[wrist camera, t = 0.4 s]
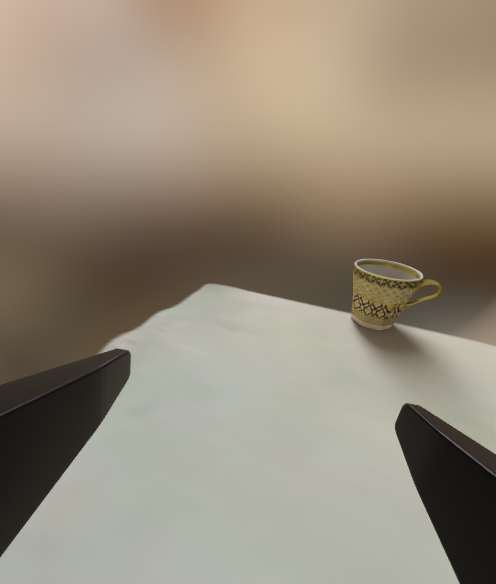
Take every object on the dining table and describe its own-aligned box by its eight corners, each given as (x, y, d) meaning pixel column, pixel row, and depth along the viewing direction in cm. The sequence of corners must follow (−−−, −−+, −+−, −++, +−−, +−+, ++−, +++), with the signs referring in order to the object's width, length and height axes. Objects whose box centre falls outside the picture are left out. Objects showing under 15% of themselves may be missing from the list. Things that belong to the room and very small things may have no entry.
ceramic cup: (338, 325, 41) (352, 271, 36) (343, 301, 49) (356, 255, 45) (427, 350, 36) (456, 291, 32) (416, 319, 44) (438, 269, 40)
